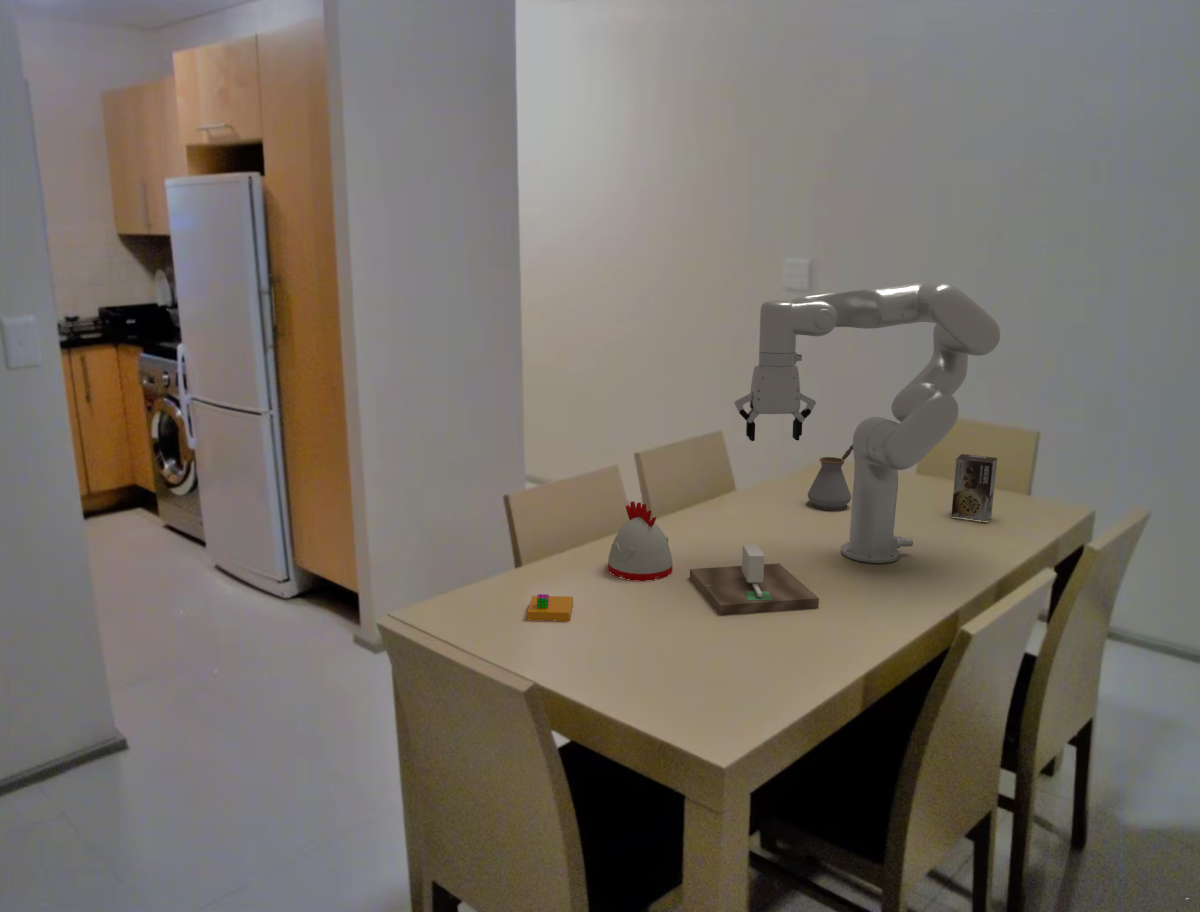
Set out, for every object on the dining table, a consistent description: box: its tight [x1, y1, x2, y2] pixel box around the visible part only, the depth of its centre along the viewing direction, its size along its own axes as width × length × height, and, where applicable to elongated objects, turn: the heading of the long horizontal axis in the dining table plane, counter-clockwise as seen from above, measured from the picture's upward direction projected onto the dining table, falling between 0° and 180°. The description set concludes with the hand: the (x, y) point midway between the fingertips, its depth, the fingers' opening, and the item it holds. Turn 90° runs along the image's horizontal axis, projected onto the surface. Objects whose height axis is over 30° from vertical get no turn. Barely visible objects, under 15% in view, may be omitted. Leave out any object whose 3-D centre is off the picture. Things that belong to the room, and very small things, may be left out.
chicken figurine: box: [607, 500, 673, 582], centre depth 196 cm, size 14×14×15 cm
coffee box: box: [950, 453, 998, 521], centre depth 236 cm, size 9×6×16 cm
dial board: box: [689, 563, 820, 616], centre depth 185 cm, size 20×20×2 cm
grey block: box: [741, 544, 765, 597], centre depth 182 cm, size 12×3×7 cm, turn 2°
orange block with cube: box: [526, 593, 574, 622], centre depth 174 cm, size 8×8×4 cm
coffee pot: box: [807, 443, 853, 511], centre depth 249 cm, size 21×12×15 cm, turn 141°
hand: (773, 439), depth 197 cm, fingers open, 9 cm apart
